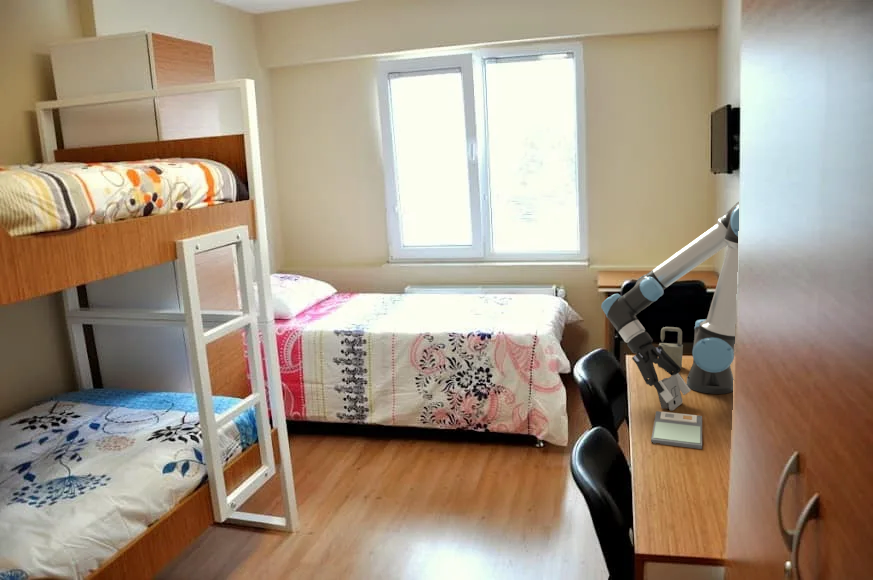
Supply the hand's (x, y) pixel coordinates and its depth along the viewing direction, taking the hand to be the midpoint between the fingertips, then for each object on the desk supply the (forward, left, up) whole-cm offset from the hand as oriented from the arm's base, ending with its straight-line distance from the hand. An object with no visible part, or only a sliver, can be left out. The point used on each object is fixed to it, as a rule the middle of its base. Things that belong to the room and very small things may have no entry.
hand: (678, 396), depth 208 cm
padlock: (-30, -31, -4) cm, 44 cm away
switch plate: (+14, +12, -4) cm, 18 cm away
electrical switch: (+1, -3, -4) cm, 5 cm away
